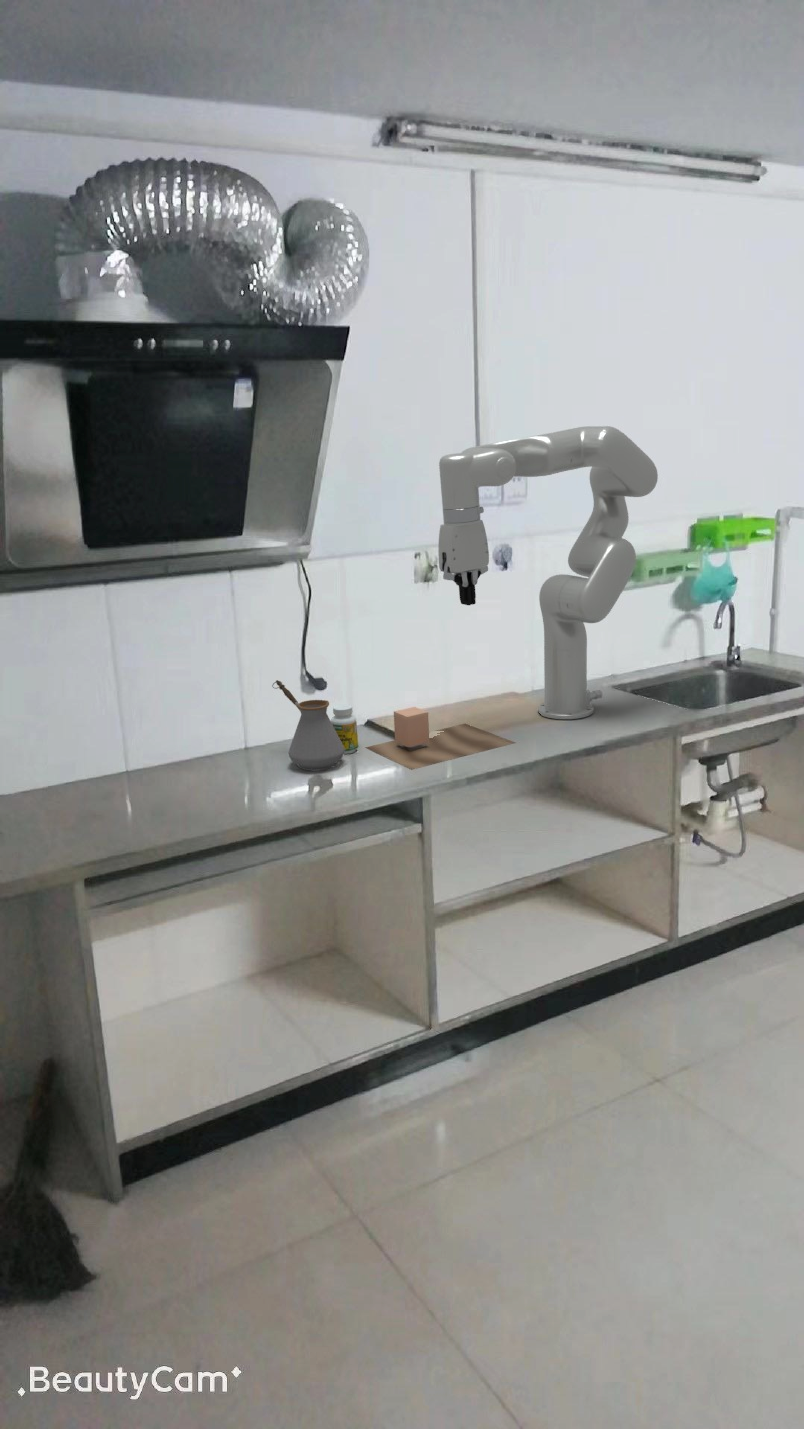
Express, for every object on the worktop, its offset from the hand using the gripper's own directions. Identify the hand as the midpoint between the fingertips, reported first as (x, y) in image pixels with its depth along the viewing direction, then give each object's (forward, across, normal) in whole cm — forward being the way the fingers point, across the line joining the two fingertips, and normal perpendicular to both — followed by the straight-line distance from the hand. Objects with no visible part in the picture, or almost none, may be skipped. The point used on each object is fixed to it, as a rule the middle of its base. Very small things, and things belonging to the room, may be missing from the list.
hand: (468, 603), depth 220 cm
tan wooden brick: (+26, +17, 0) cm, 31 cm away
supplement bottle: (+28, +28, -9) cm, 40 cm away
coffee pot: (+27, +37, -10) cm, 47 cm away
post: (+28, +17, 0) cm, 33 cm away
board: (+28, +12, +3) cm, 31 cm away
